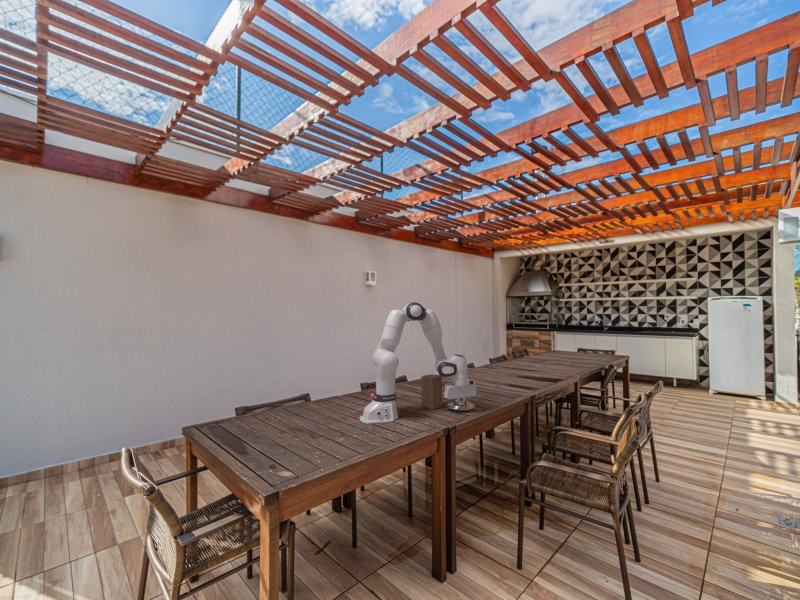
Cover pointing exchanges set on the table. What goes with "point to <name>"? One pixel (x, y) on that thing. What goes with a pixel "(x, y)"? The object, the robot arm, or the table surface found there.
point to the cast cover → (457, 402)
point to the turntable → (467, 406)
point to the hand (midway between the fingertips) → (460, 405)
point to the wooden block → (431, 391)
